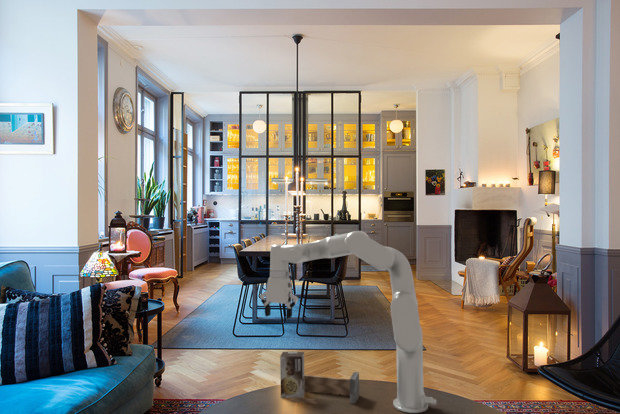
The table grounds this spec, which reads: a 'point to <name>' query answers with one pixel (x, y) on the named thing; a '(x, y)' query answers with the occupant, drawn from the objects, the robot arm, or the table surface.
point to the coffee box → (292, 374)
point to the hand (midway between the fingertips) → (278, 317)
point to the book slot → (331, 387)
